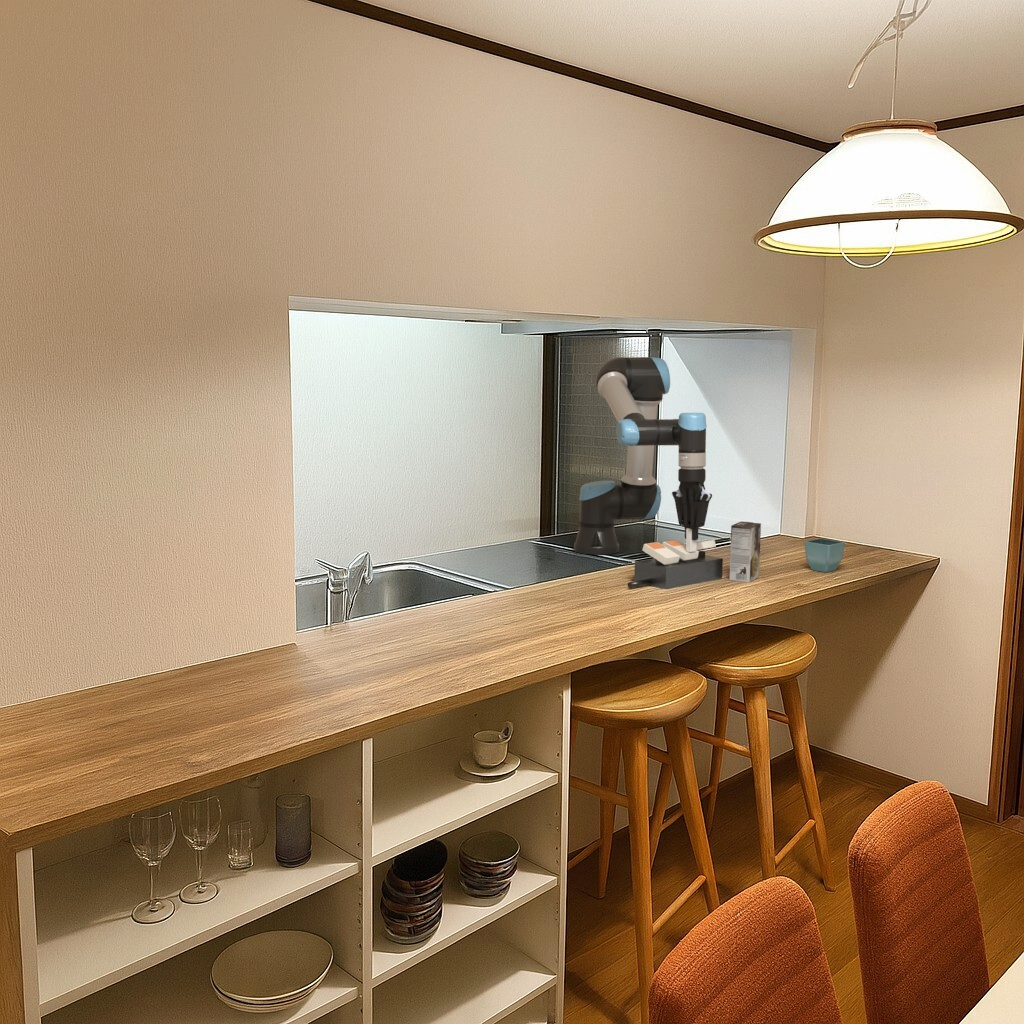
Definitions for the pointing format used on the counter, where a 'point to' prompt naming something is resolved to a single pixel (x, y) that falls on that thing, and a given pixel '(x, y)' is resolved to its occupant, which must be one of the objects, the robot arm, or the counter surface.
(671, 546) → the rocker
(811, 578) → the counter surface
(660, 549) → the rocker
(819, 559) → the flower pot
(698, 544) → the rocker
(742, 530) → the coffee box
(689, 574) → the dark gray long block
